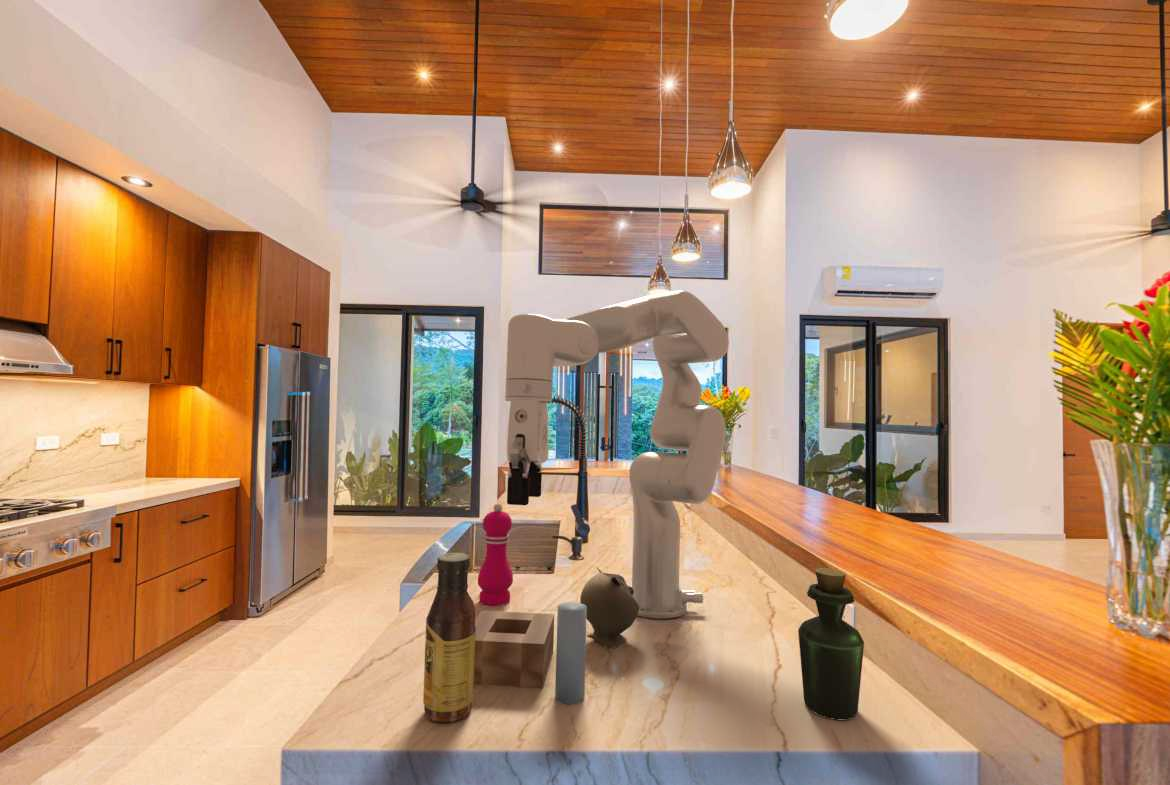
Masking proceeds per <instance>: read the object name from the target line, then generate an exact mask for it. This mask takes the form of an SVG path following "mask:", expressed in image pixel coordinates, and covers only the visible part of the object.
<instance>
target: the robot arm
mask: <svg viewBox="0 0 1170 785" xmlns="http://www.w3.org/2000/svg"><path fill="white" fill-rule="evenodd" d="M507 327H508V329H507V344H506V345H507V347H506V350H507V351H506V370H505V372H506V373H505V374H506V375H505V391H504V392H505V393H504V397H505V398H504V400H505V401H506V402H510V404H509V411H508V413H509V415H508V425H507V440H506V441H507V443H506V444H507V445H506V451H507V452H506V454H507V455H506V458H507V461H508V467H509V468H508V473H507V489H506V490H507V492H506V494H507V495H506V503H507V505H513V506H528V505H529V500H530V497H531V498H532V497H533V498H540V497H541V495H542V479H543V476H542V464H544V463H546V462H547V461H548V459H549V410H548V403H553V389H554V388H553V387H554V383H553V382H554V368H556V367H570V366H571V367H572V366H574V367H575V366H581V365H584V364H587V363H589V362H591V361H592V360H593V359H594V358H595V357H596V356H597V354H602V353H610V352H615V351H619V350H624V349H627V348H629V347H632V346H634V345H637V344H639V343H642V342H646V341H649V340H651V339H653V340H652V350H653V354H654V357H655V360H656V362H657V364H658V367H659V370H660V373H661V377H662V387H661V392H660V396H659V399H658V402H657V404H656V405H657V406H656V408H655V412H654V415H653V418H652V422H651V426H650V432H649V434H650V440H651V441H652V443H653V445H655V446H656V447H658V448H660V449H663V450H669V451H670V450H671V451H680V452H681V451H684V452H687V453H676V452H675V453H674V452H667V451H647V452H643V453H640V454H639V455H637V456H636V457H635V458H634V459H633V460H632V462H631V464H630V467H629V476H628V477H629V484H630V485H629V486H630V490H631V497H632V507H633V509H632V511H633V524H632V525H633V526H632V527H633V530H632V533H633V534H632V568H631V569H632V574H631V575H632V577H631V578H632V579H631V580H632V581H631V582H632V583H631V587H632V588H633V590H634V594H633V595H632V596H633V598H634V599H635V600H636V602H637V603H638V605H639V612H638V615H637V617H638V616H639V617H642V618H647V619H655V620H656V619H657V620H658V619H659V620H661V619H662V620H664V619H665V620H666V619H673V618H675V619H676V618H678V617H681V616H683V615H685V614H686V613H687V607H688V605H687V604H688V603H693V604H703V603H704V595H703V592H696V590H693V589H692V590H691V589H690V590H689V589H688V590H687V589H686V590H684V589H683V588H682V587H681V584H680V556H681V555H680V554H681V553H680V552H681V549H680V548H681V520H680V519H681V518H680V515H679V513H678V510H677V508H676V506H675V503H674V502H678V503H683V504H692V505H697V504H702V503H704V502H706V501H707V500H708V499H709V498H710V495H711V494H712V493H713V492H712V491H713V489H714V487H715V482H716V479H717V475H718V471H719V467H720V465H721V464H720V463H721V459H722V455H723V451H724V448H725V443H726V437H727V436H726V435H727V428H726V426H727V425H726V420H725V417H724V415H723V414H722V412H721V411H720V410H719V409H718V408H716V407H714V406H711V405H706V404H704V405H700V401H701V397H702V386H701V382H700V381H699V379H698V377H697V376H696V374H695V372H694V371H693V370H692V367H691V366H690V364H698V363H710V362H716V361H719V360H721V359H722V358H724V356H725V355H726V354H727V352H728V349H729V345H730V341H729V335H728V332H727V330H726V328H725V326H724V324H723V323H722V322H721V321H720V319H719V318H717V316H716V315H715V314H714V313H713V312H712V311H711V310H710V309H709V307H708V306H707V305H705V303H704V302H703V301H701V300H700V299H699V298H698V297H697V296H695V295H694V294H692V293H691V292H689V291H686V290H681V289H679V290H674V291H668V292H664V293H663V292H662V293H656V294H651V295H650V294H649V295H644V296H643V297H638V298H635V299H631V300H628V301H623V302H620V303H616V304H613V305H612V304H611V305H608V306H605V307H601V308H597V309H595V310H591V311H588V312H585V313H582V314H578V315H574V316H570V317H567V318H563V319H554V318H553V319H552V318H550V317H549V316H546V315H542V314H534V313H522V314H520V313H519V314H517V315H514V316H512V317H511V318H510V319H509V321H508V326H507Z"/></svg>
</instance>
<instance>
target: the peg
mask: <svg viewBox="0 0 1170 785" xmlns="http://www.w3.org/2000/svg"><path fill="white" fill-rule="evenodd" d="M586 615H587V607H586V605H584V604H581V602H574V601H573V602H572V601H570V602H569V601H568V602H562V603H559V604H558V605H557V616H556V617H557V618H556V619H557V620H556V621H557V622H556V650H555V651H556V654H555V656H556V657H555V689H554V690H555V692H554V697H555V700H556V701H557V702H559V703H560V704H564V705H575V704H576V705H577V704H580V703H582V702H583V701H584V700H585V695H586V694H585V689H586V685H585V684H586V654H587V652H586V650H587V648H586V647H587V646H586V645H587V643H586V642H587V619H586Z"/></svg>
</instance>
